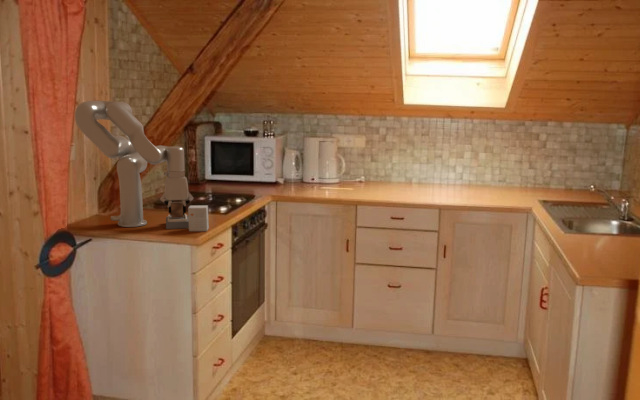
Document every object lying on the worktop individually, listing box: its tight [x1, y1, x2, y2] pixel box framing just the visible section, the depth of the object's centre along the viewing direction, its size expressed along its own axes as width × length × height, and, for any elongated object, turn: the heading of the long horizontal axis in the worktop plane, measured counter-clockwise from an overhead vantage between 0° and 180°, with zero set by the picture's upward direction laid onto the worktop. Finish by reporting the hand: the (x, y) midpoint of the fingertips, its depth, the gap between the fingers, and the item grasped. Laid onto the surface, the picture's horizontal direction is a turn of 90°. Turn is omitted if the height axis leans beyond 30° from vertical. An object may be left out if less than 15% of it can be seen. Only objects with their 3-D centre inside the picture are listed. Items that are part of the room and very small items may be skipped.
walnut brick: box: [171, 201, 183, 218], centre depth 274 cm, size 5×7×6 cm
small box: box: [187, 204, 210, 232], centre depth 267 cm, size 8×6×10 cm
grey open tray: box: [165, 213, 189, 230], centre depth 275 cm, size 10×12×4 cm
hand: (177, 214), depth 275 cm, fingers closed on walnut brick, 4 cm apart
